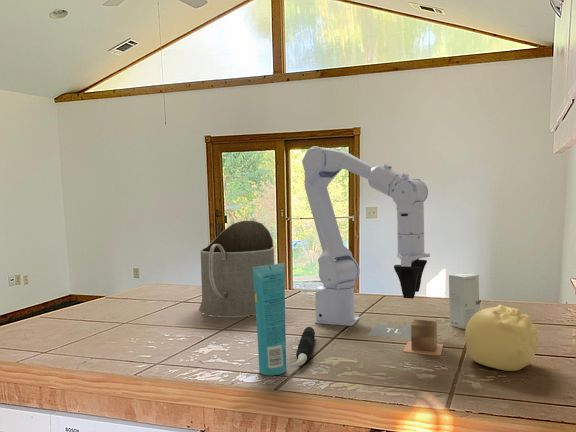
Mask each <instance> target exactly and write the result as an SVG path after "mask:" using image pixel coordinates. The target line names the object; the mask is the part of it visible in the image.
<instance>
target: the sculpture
mask: <svg viewBox="0 0 576 432" xmlns="http://www.w3.org/2000/svg"><path fill="white" fill-rule="evenodd" d="M532 319H533V318H532V317H531V316H530V315H528V314H524V313H523V312H522V311H521V310H520V309H519V308H516V307H510V306H507V305H503V304H498V305H497V306H493V307H486V308H482V309H481V310H480V309H479V311H478V312H477V313H475V314H474V315H473V316H472V317H471V318H470V320H469V322H468V324H467V327H466V329H465V332H464V341H465V346H466V347H465V348H466V350H467V352H468V354H469V355H468V356H469V357H470V358H471V359H472V360H473V361H474V362H475V363H477V364H480V365H483V366H486V367H489V368H492V369H497V370H501V371H505V372H506V371H507V372H517V371H520V370H521V369H524V368H525V367H527V366H530V365H531V363H532V361H534V359H535V356H536V354H537V353H538V351H539V350H538V347H537V346H538V344H539V336H538V330H537V326H536V324H534V323H533V320H532Z"/></svg>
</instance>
